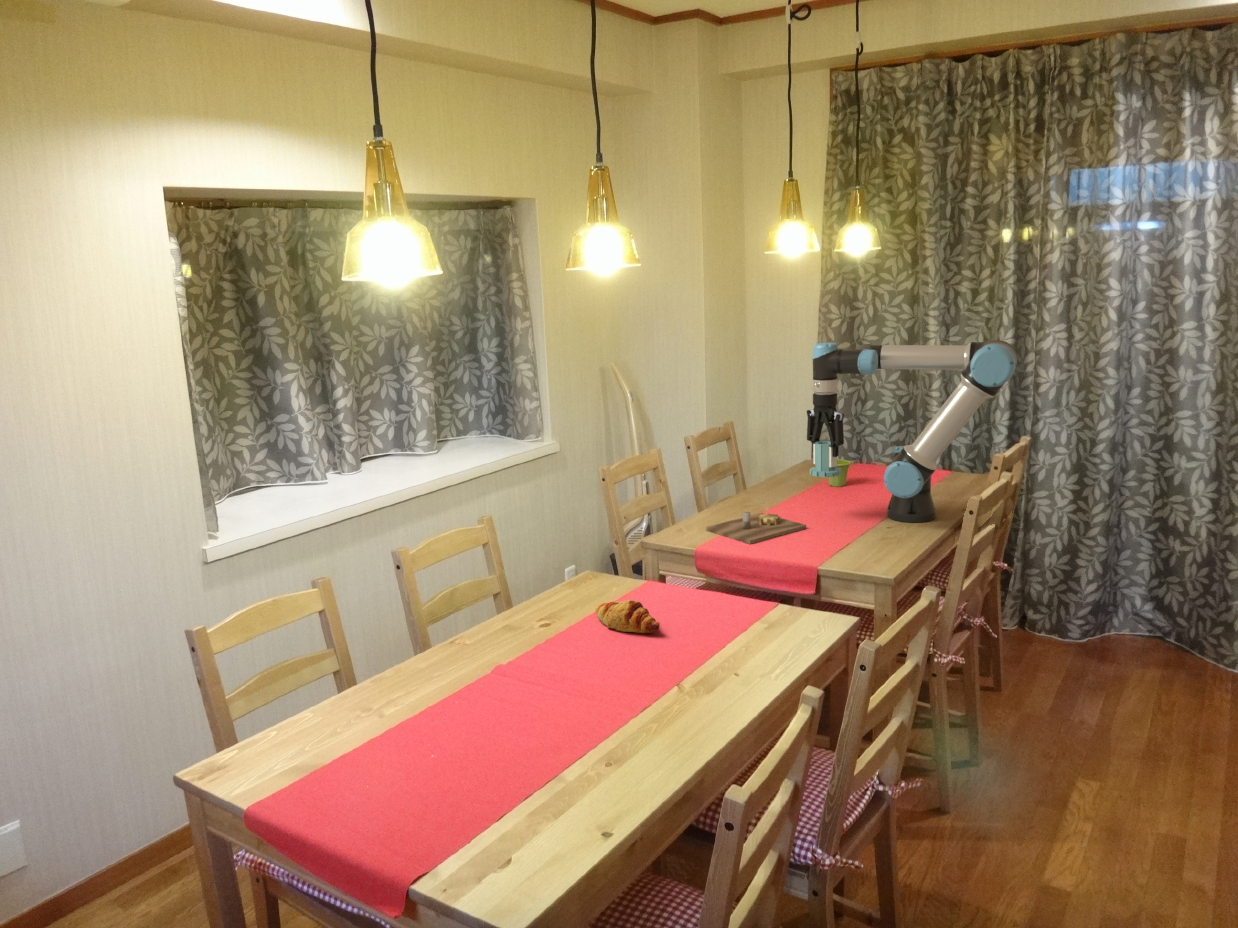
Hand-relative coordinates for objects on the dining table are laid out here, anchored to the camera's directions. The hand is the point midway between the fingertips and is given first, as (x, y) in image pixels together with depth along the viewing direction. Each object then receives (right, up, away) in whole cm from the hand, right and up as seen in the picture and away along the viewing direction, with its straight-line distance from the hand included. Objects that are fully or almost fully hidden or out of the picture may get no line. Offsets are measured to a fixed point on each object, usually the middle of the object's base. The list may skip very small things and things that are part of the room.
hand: (825, 464), depth 312 cm
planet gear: (0, -3, +1) cm, 3 cm away
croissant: (-63, -39, -75) cm, 105 cm away
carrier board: (-22, -20, -1) cm, 30 cm away
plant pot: (+15, -8, +50) cm, 53 cm away
